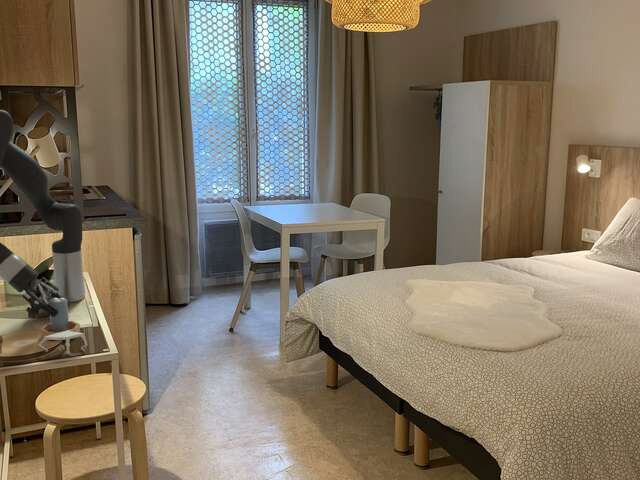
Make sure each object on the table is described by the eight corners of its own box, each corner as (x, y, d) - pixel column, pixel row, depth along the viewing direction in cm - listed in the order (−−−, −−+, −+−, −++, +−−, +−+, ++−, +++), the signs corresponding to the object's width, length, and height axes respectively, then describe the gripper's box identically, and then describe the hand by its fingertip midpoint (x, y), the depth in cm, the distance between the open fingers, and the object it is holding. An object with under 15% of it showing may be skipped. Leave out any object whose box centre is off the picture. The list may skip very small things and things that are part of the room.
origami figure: (82, 341, 188) (81, 325, 187) (88, 351, 181) (87, 335, 180) (37, 349, 182) (36, 333, 181) (42, 360, 175) (40, 343, 174)
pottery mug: (58, 325, 202) (42, 305, 198) (34, 336, 204) (17, 316, 200) (72, 303, 212) (57, 284, 209) (49, 314, 214) (34, 295, 211)
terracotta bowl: (49, 328, 197) (48, 320, 196) (83, 328, 198) (82, 320, 197) (37, 341, 187) (37, 333, 187) (73, 340, 188) (72, 332, 188)
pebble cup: (54, 329, 194) (51, 296, 192) (71, 329, 195) (69, 295, 193) (48, 335, 190) (46, 301, 187) (66, 335, 190) (63, 301, 188)
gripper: (16, 270, 180) (62, 309, 184) (34, 257, 194) (76, 293, 197) (-2, 289, 181) (44, 327, 184) (17, 274, 195) (60, 310, 198)
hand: (61, 309), depth 191 cm, fingers open, 8 cm apart
